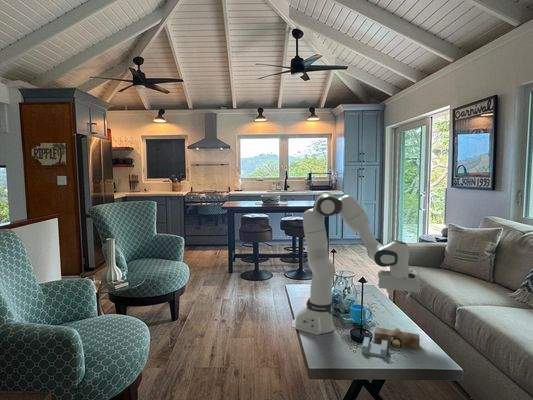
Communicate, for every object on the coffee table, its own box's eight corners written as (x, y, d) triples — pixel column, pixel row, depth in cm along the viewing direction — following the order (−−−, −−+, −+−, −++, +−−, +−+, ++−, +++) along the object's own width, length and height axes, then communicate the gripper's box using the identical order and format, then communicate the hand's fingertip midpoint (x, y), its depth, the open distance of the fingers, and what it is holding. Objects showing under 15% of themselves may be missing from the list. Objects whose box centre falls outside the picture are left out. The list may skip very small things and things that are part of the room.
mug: (353, 324, 186) (353, 310, 186) (348, 318, 194) (348, 304, 194) (374, 323, 187) (374, 309, 187) (368, 317, 196) (368, 303, 195)
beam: (374, 342, 167) (374, 332, 167) (375, 336, 173) (375, 327, 172) (419, 350, 160) (419, 340, 159) (418, 344, 165) (419, 334, 165)
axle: (392, 347, 163) (392, 340, 162) (393, 334, 176) (393, 327, 175) (400, 349, 161) (400, 341, 161) (400, 335, 174) (401, 329, 174)
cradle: (362, 353, 157) (362, 345, 157) (364, 344, 166) (364, 336, 165) (386, 357, 153) (386, 350, 153) (387, 348, 162) (387, 340, 161)
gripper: (377, 271, 178) (376, 297, 179) (420, 276, 170) (420, 303, 171) (378, 268, 184) (378, 293, 185) (420, 272, 176) (419, 298, 177)
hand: (398, 298), depth 178 cm, fingers open, 7 cm apart
